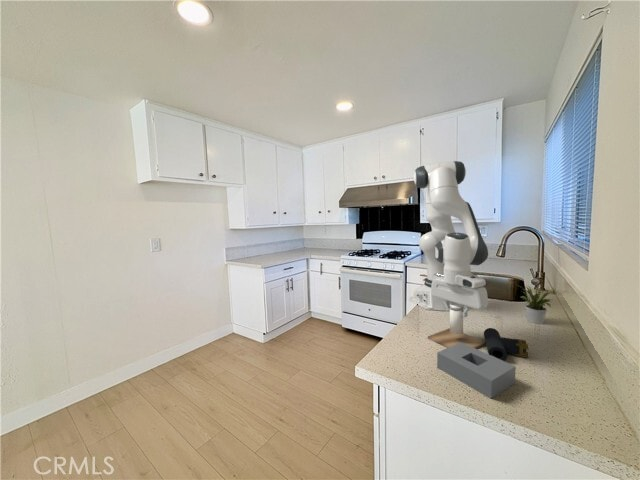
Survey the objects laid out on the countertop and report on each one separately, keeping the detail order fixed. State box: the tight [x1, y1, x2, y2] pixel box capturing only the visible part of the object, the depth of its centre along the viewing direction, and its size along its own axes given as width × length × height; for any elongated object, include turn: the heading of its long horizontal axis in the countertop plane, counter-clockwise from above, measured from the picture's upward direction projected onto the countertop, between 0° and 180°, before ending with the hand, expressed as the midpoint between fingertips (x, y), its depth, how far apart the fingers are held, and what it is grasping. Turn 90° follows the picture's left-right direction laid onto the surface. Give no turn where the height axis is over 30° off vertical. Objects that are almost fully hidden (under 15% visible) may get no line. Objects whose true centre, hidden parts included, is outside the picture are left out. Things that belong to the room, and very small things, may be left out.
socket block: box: [436, 342, 517, 399], centre depth 76 cm, size 16×12×5 cm
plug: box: [449, 303, 464, 334], centre depth 95 cm, size 4×4×10 cm
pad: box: [427, 327, 486, 349], centre depth 96 cm, size 14×14×1 cm
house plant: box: [516, 285, 554, 325], centre depth 110 cm, size 14×14×16 cm
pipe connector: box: [483, 327, 529, 362], centre depth 88 cm, size 12×5×15 cm
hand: (456, 313), depth 95 cm, fingers closed on plug, 4 cm apart
